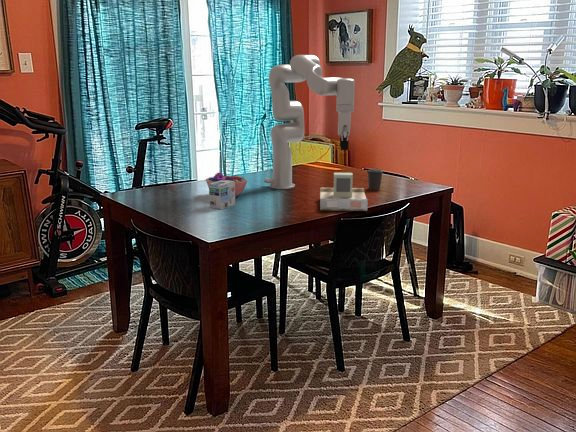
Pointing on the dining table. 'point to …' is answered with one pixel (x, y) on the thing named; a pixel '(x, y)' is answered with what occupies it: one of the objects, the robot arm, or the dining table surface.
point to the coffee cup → (374, 178)
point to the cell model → (239, 181)
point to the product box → (343, 184)
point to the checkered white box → (343, 200)
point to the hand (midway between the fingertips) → (343, 148)
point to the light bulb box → (222, 194)
